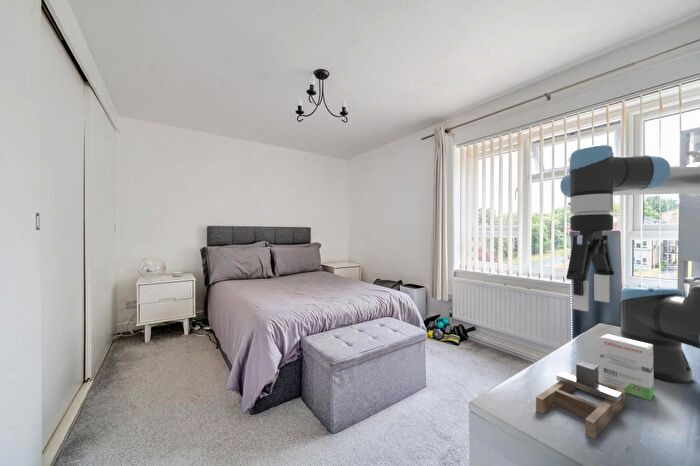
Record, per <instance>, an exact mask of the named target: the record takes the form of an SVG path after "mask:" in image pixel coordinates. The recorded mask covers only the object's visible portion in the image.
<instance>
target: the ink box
mask: <svg viewBox="0 0 700 466" xmlns="http://www.w3.org/2000/svg"><path fill="white" fill-rule="evenodd" d="M599 344H600V345H599V350H600V351H599V359H600V361H599V367H600V369H599V371H600V372H599V373H600V374H599V375H600V380H599V381H601V382H604V383H607V384H610V385H612V386H615V387H618V388H621V389H624V390H626V394H630V395H632V396H635V397H638V398H641V399H644V400H647V401H651V399H652V398H653V396H654V395H655V389H654V388H655V382H654V380H655V379H654V372H653V345H652V344H648V343H644V342H640V341H635V340H631V339H627V338H623V337H620V336H618V335H615V334H614V335H613V334H609V333H606V334H604V335H602V336H600V337H599Z"/></svg>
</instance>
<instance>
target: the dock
mask: <svg viewBox="0 0 700 466" xmlns="http://www.w3.org/2000/svg"><path fill="white" fill-rule="evenodd" d="M570 374H571V375H573V376H576V371H575V372H574V371H573V372H571V373H570ZM598 384H599V385H602V386H604V387H607V388H610V389H613V390H616V391H618V392H621V393H622V398H621V400H620V401H619V402H618V403H615V402H613V401H610V400H607V399H605V400H603V401H602V402H601V404H599V405H598V404H595V403H593V402H591V401H588V400H586V399H583V398H580V397H578V396H577V395H574V394H571V393H572V392H574V391H575V390H576V389H577V388H576V387H574V386H571V385H568V384H566V383H563V382H560V381H557V382H556V383H555V384H553V385H551V386H550V387H549V388H547V389H546V390H544V391H542V392H541V393H539V395H537V396H535V412H537V413H539V414H541V415H544V414H545V413H547V411H549V410H550V409H552V408H553V407H554V406H558V407H560V408H561V409H564V410H567V411H569V412H571V413H574V414H575V415H578V416H579V417H583V418H585V420H584V421H585V422H584V423H585V424H584V428H585V429H584V432H585V433H584V434H585V436H587V437H590V438H592V439H595V438H596V437H597V436H598V435H599V434H600V433H601V432H602V431H603V429H605V427H607V425H608V424H609V423H610V422H611V421H612V419H613V418H614V417H615V416H616V415H617V414H618V413H619V412H620V411H621V410H622V409H623V407H624V406H625V405H626V404H627V403H626V402H627V401H626V400H627V399H626V398H627V397H626V396H627V393H626V390H624V389H621V388H618V387H615V386H612V385H610V384H607V383H604V382H601V381H600V380H598Z"/></svg>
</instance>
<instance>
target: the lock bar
mask: <svg viewBox="0 0 700 466" xmlns="http://www.w3.org/2000/svg"><path fill="white" fill-rule="evenodd" d="M575 373H576V376H573V375H571V373H568V372H566V371H561V372H559V373H557V374H556V381H557V382H559V381H560V382H563V383H566V384H568V385H571V386H574V387H576V389H578V390H582V391H584V392H587V393H590V394H592V395H595V396H597V397H599V398H603V399H605V400H606V399H607V400H610V401H613V402H615V403H618V402H619V401H620V400H621V398H622V393H621V392H618V391H616V390H613V389H610V388H607V387H604V386H602V385H599V384H598V381H599V365H596V364H593V363H590V362H588V361H583V360H581V361H579V362H577V363H576V365H575Z"/></svg>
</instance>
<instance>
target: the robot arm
mask: <svg viewBox="0 0 700 466" xmlns="http://www.w3.org/2000/svg"><path fill="white" fill-rule="evenodd" d="M568 168H569V169H568V171H569V173H568V174H566V175H565V176H563V177H562V179H561V181H560V184H559V185H560V191H561V192H562V194H563V195H564V196H566V197H567V198H569V199H570V201H568V202H567V205H568V207H570V214H573V215H571V217H569V218H570V219H569V220H570V221H569V222H570V223H569V225H570V226H569V227H570V231H572V232H579V234H576V235H573V236H572V245H571V246H572V247H571V251H570V252H571V253H570V258H569V262H568V268H567V273H566V276H565V278H566V280H571V309H573V310H576V311H577V310H578V311H582V312H589V308H590V307H589V302H590V301H589V280H587V278H588V274H589V271H590V267H591V264H592V265H593V268H594V271H595V274H593V295H594V296H593V299H594V301H595V302H596V301H597V302H602V303H603V302H604V303H610V301H611V300H610V297H611V295H610V294H611V293H610V287H611V286H610V276H614V275H615V271H614V270H613V265H612V260H611V253H610V248H609V240H608V239H609V235H608V234H603V232H612V231H613V229H614V215H612V214H611V213H612V212H613V211H614V196H634V195H636V196H637V195H639V196H640V195H671V194H672V195H673V194H676V195H677V194H682V195H684V196H687V197H693V198H695V197H696V198H697V197H699V198H700V161H697V162H693V163H690V164H687V165H685V166H683V165H681V166H679V165H678V166H671V165H670V163H669V161H668V160H666V159H665V158H664V157H661V156H652V155H647V154H645V155H632V156H631V155H629V156H628V155H625V156H623V155H621V156H620V155H619V156H618V155H614V152H613V148H612V146H611V145H607V144H597V145H591V146H585V147H582V148H579V149H576V150H574V151H572V152H571V154H570V159H569V167H568ZM620 293H621V294H620V299H619V303H620V305H619V306H620V308H619V309H620V336H619V337H623V338H627V339H631V340H635V341H640V342H644V343H648V344H652V345H653V372H654V380H659V381H662V382H671V383H681V384H682V383H683V384H685V383H690V382H692V380H693V371H692V369H691V366H690V364H689V361H688V359H687V356H686V355H685V353H684V350H683V346H682V344H684V345H686V346H690V347H692V348H697V349H699V350H700V284H698V285H694V286H692V287H691V289H690V291H689V292H688V294H687V296H684V293H683V292H682V290H681V289H680V288H674V287H655V286H654V287H653V286H651V287H650V286H627V287H624V288H622V290H621V292H620Z"/></svg>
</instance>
